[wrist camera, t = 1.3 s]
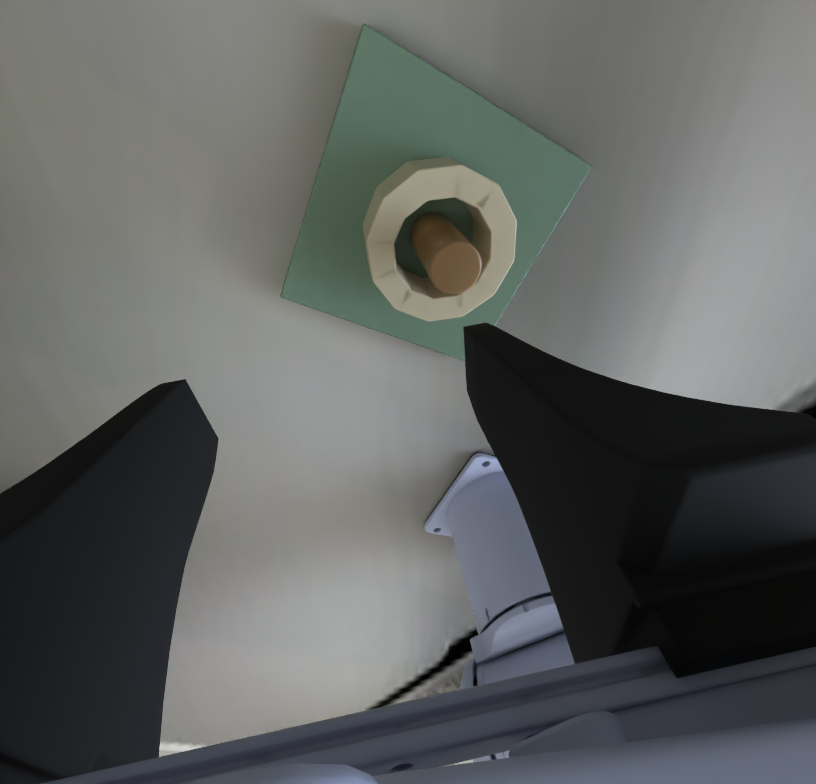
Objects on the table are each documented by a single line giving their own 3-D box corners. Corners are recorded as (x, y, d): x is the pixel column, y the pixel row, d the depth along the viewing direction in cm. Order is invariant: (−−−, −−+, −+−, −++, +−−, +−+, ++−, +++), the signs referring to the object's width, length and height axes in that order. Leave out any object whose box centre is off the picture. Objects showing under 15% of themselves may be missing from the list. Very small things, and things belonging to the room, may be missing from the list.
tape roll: (520, 196, 17) (545, 209, 15) (455, 313, 20) (469, 338, 18) (397, 130, 15) (407, 134, 13) (345, 270, 18) (346, 291, 16)
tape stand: (581, 163, 17) (665, 183, 13) (467, 354, 22) (500, 417, 18) (361, 26, 14) (374, -9, 9) (282, 288, 19) (265, 347, 14)
